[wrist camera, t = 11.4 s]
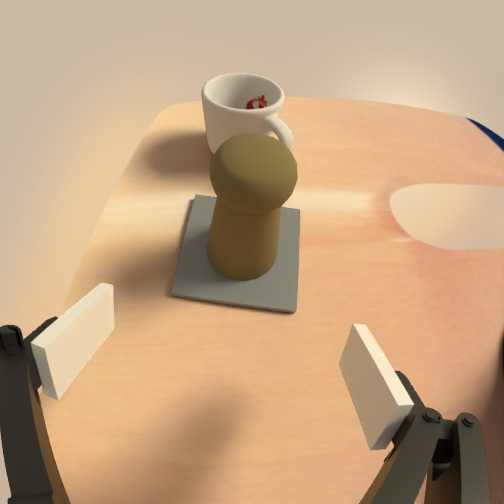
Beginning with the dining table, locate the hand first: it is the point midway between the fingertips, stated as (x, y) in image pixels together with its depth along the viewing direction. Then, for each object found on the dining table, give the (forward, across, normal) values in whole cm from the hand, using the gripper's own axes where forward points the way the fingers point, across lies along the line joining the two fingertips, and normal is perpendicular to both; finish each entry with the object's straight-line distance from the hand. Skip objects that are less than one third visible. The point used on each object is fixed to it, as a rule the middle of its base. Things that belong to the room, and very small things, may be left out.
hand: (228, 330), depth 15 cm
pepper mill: (+11, 0, +1) cm, 11 cm away
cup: (+20, -1, +9) cm, 22 cm away
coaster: (+12, 0, +1) cm, 12 cm away
